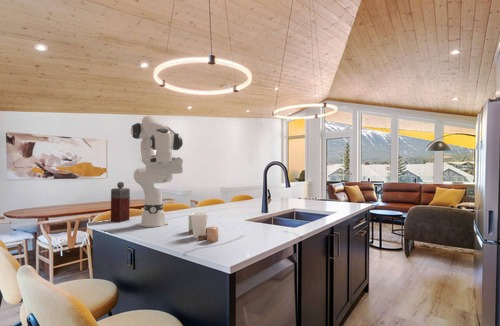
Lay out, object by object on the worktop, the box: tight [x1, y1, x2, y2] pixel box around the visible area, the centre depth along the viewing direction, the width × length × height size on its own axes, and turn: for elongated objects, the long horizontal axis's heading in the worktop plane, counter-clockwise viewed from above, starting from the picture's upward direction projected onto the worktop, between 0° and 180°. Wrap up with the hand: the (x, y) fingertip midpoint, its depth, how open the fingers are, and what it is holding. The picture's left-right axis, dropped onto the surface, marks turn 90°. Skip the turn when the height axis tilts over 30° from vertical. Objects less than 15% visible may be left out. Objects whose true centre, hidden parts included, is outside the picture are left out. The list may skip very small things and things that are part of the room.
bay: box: [188, 227, 207, 241], centre depth 160 cm, size 11×16×2 cm
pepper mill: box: [110, 181, 131, 223], centre depth 203 cm, size 9×11×28 cm
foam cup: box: [190, 211, 209, 239], centre depth 158 cm, size 10×9×13 cm
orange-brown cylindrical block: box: [206, 226, 219, 243], centre depth 149 cm, size 6×6×7 cm
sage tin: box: [188, 214, 193, 231], centre depth 170 cm, size 6×6×10 cm
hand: (164, 181), depth 159 cm, fingers closed
